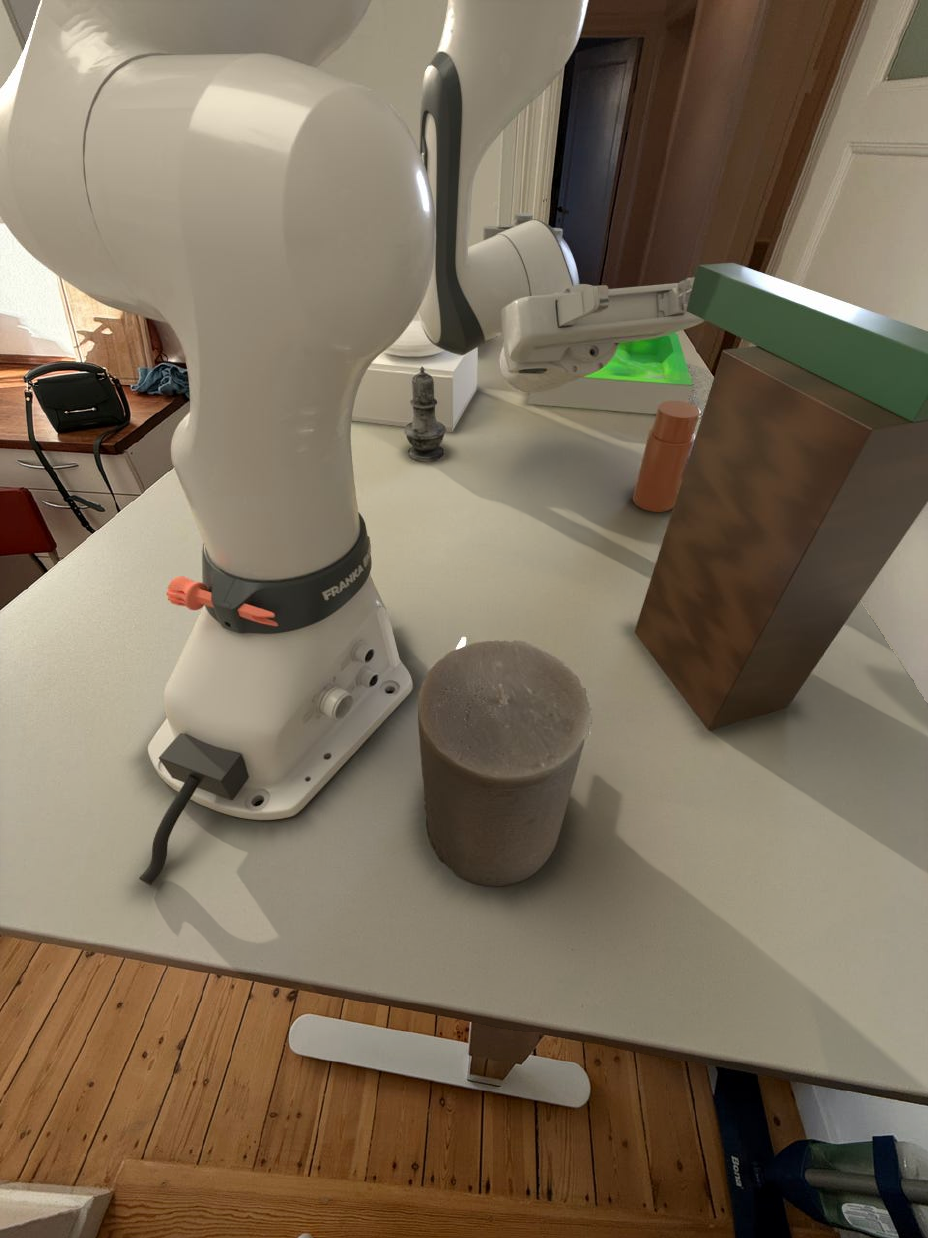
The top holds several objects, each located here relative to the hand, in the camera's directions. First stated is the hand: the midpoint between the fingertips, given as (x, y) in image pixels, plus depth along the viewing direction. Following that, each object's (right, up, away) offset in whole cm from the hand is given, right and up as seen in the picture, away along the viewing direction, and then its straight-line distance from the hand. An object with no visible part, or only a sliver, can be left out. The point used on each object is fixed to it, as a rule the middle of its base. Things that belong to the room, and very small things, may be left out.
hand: (650, 290), depth 47 cm
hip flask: (-4, +37, +76) cm, 84 cm away
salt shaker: (-22, -4, +32) cm, 39 cm away
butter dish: (-24, +8, +45) cm, 51 cm away
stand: (+6, -33, +3) cm, 33 cm away
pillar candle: (-14, -43, -7) cm, 45 cm away
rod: (+5, -11, -12) cm, 17 cm away
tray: (+9, +14, +52) cm, 55 cm away
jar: (+8, -13, +23) cm, 28 cm away
